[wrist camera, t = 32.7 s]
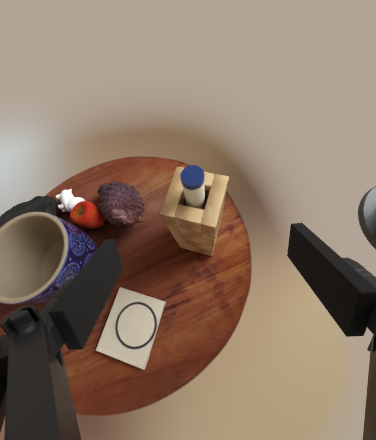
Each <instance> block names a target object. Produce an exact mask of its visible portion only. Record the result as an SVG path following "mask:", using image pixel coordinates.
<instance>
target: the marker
mask: <svg viewBox="0 0 376 440" xmlns="http://www.w3.org/2000/svg"><path fill="white" fill-rule="evenodd" d="M180 179H181V183H182V186H183V190H184V194H185V198H186V203H187V206H189V207H193V208H198V209H202V210H205V188H204V181H205V175H204V171H203V170H202V169H201V168H200V167H199V166H195V165H191V166H187V167H185V168H184V169H183V170H182V172H181V174H180Z"/></svg>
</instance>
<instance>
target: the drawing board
mask: <svg viewBox="0 0 376 440" xmlns="http://www.w3.org/2000/svg"><path fill="white" fill-rule="evenodd" d="M164 306H165V301H162V300H159V299H156V298H152V297H149V296H146V295H143V294H140V293H137V292H134V291H131V290H128V289H125V288H122V287H120V288H119V290H118V293H117V296H116V298H115V301H114V304H113V306H112V309H111V312H110V314H109V317H108V319H107V322H106V325H105V327H104V330H103V333H102V335H101V338H100V340H99V343H98V346H97V348H96V351H98V352H101V353H103V354H106V355H108V356H111V357H113V358H116V359H118V360H121V361H123V362H126V363H128V364H131V365H133V366H136V367H138V368H141V369H143V370H144V369H145V368H146V365H147V362H148V358H149V355H150V352H151V349H152V345H153V342H154V339H155V335H156V332H157V329H158V325H159V322H160V319H161V316H162V312H163V309H164Z"/></svg>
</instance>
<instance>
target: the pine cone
mask: <svg viewBox="0 0 376 440" xmlns="http://www.w3.org/2000/svg"><path fill="white" fill-rule="evenodd" d="M98 193H99V195H100V197H99V202H100V203H99V209H100V210H101V214H103V215H104V216H105V218H106V219H107V220H109V222H110V223H111V224H115V225H116V226H119V225H121V226H123V225H126V227H129V226H131V225H132V224H134V223H140V222H143V221H144V220H143V217H141V216H142V213H143V212H144V208H143V206H144V203H143V202H142V198H141V197H140V196H139V192H138V191H136V190H135V187H134V186H129V185H128V184H124V183H123V182H118V183H117V182H115V181H113V182H112V183H109V184H106V183H105V184H103V185H101V186H100V187H99V190H98Z"/></svg>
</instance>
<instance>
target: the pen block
mask: <svg viewBox="0 0 376 440" xmlns="http://www.w3.org/2000/svg"><path fill="white" fill-rule="evenodd" d="M183 169H184V168H181V167H176V170H175V173H174V175H173V178H172V181H171V184H170V187H169V189H168V192H167V195H166V198H165V201H164V203H163V206H162V209H161V212H160V215H161V217H162V218H163V220H164V222H165V223H166V225H167V227H168V228H169V230H170V232H171V233H172V235H173V237H174V238H175V240H176V242H177V243H178V245H179V246H180V248H183V249H187V250H191V251H194V252H198V253H202V254H205V255H209V256H213V252H214V248H215V244H216V240H217V236H218V232H219V228H220V224H221V218H222V212H223V207H224V201H225V196H226V190H227V184H228V179H229V177H228V176H223V175H217V174H212V173H207V172H204V175H205V181H204V188H205V210H202V209H198V208H193V207H189V206H187V203H186V198H185V194H184V190H183V186H182V183H181V179H180V174H181V172H182V170H183Z"/></svg>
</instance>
